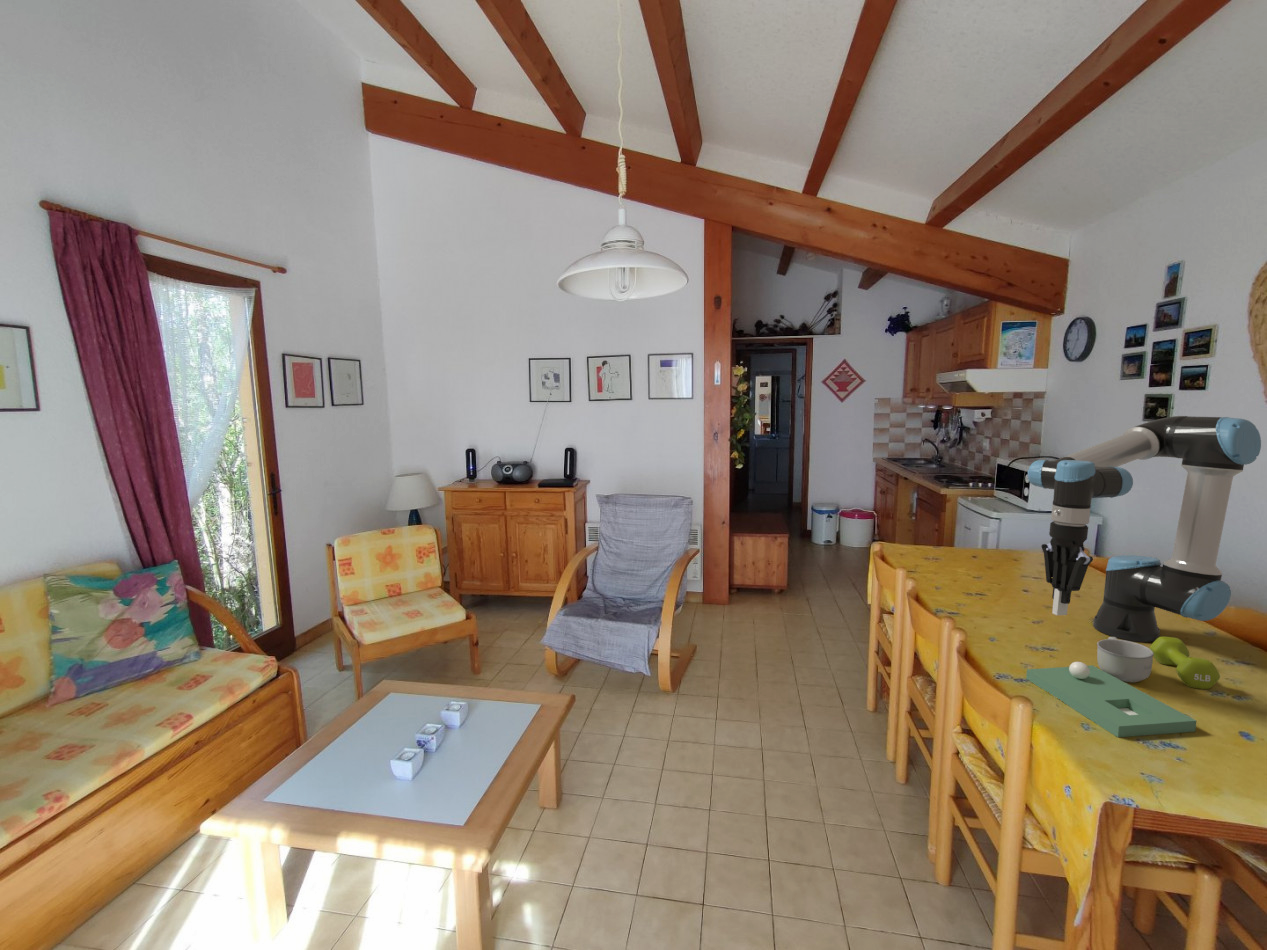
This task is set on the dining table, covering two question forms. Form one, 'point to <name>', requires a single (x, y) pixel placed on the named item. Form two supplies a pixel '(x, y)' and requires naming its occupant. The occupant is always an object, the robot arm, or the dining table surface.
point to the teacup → (1124, 659)
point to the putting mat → (1111, 702)
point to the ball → (1079, 670)
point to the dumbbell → (1185, 663)
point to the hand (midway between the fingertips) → (1059, 614)
